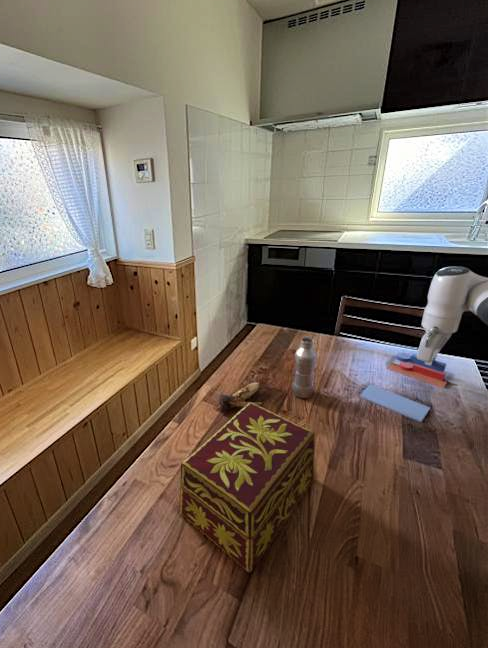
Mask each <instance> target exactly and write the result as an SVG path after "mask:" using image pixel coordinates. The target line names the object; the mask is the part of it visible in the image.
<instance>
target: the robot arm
mask: <svg viewBox="0 0 488 648" xmlns="http://www.w3.org/2000/svg"><path fill="white" fill-rule="evenodd" d="M464 312H471V313H472V314H473V315H475V316H477V317H478V318H479V319H480V320H481V321H482V322H483V323H484V324H486V326H488V277H486V276H482V275H479V274H477V273H475V272H473V271H472V270H470V269H469V268H468V267H464V266H447V267H443V268H441V269H439V270H437V272H435V274H434V276H433V277H432V280H431V283H430V285H429V288H428V292H427V303H426V305H425V307H424V311H423V315H422V319H421V324H420V325H421V327H423V329H424V331H425V333H424V334H423V336H422V337H421V340H420V343H419V346H418V349H417V353H416V355H417V359H418V360H421V361H424V362H425V364H426V365H432V363H433V360H435V361H437V356H438V354H439V353H440V351H442V348H444V346H445V345H446V343H447V342H448V341H449V339H450V338H451V337H452V334H455V333H456V332H458V331H459V326H460V323H461V320H462V317H463V316H462V315H463V314H464Z"/></svg>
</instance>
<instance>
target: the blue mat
mask: <svg viewBox="0 0 488 648" xmlns="http://www.w3.org/2000/svg"><path fill="white" fill-rule="evenodd" d="M359 398H361V399H363V400H366V401H368V402H371V403H374V404H375V405H378V406H380V407H382V408H385V409H387V410H390V411H393V412H394V413H397V414H400V415H402V416H404V417H406V418H409V419H411V420H414V421H416V422H418V423H422V422H423V420H424V419H425V418H426V416H427V415H428V413H429V411H430V410H431V407H430V406H426V405H424V404H423V403H419V402H417V401H414V400H412V399H409V398H406V397H404V396H401V395H399V394H396V393H393V392H391V391H388V390H386V389H384V388H381V387H378V386H375V385H373V384H369V385H368V386H367V387H366V388H365V389H364V390H363V391H362V392H361V393H360V395H359Z"/></svg>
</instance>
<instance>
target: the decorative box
mask: <svg viewBox="0 0 488 648" xmlns="http://www.w3.org/2000/svg"><path fill="white" fill-rule="evenodd" d="M249 402H250V403H248V404H247V405H246V406H245V407H244V408H241V409H240V410H239V411H237V412H236V413H235V414H234V415H233V416H232V417H231V418H229V420H228V421H227V422H225V423H224V424H223V425H222V426H221V427H220V428H219V429H218V430H217V431H216V432H214V433H213V434H212V435H211V436H210V437H208V438H207V439H206V440H205V441H204V442H203V443H201V444H200V446H199V447H198V448H196V449H195V450H194V451H193V452H192V453H191V454H190V455H189V456H188V457H186V458H185V459H184V460H183V461H182V462H181V464H180V485H179V514H180V515H181V516H182V517H183V516H184V517H185V518H186V519H185V518H184V517H183V518H184V519H185V520H186V521H188V522H189V523H190V524H191V523H192V524H193V525H192V524H191V525H192V526H194V527H195V528H196V529H197V530H198V529H199V530H200V531H199V530H198V531H199V532H200V533H202V534H203V535H204V536H205V535H206V536H207V537H206V536H205V537H206V538H207V539H209V541H211V542H212V541H213V542H214V543H215V544H214V543H213V542H212V543H213V544H214V545H215V546H217V548H219V549H220V548H221V549H222V550H221V549H220V550H221V551H222V552H224V553H225V554H226V555H227V554H228V555H229V556H228V555H227V556H228V557H230V559H232V561H234V560H235V561H236V562H235V561H234V562H235V563H236V564H237V565H239V566H240V567H241V566H242V567H243V568H242V567H241V568H242V569H243V570H245V571H246V572H247V573H249V574H251V572H252V571H253V570H254V569H255V567H256V566H257V564H258V563H259V562H260V560H261V558H262V557H263V556H264V554H265V553H266V551H267V550H268V548H269V546H270V545H271V543H272V542H273V541H274V540H275V538H276V536H277V535H278V533H279V532H280V531H281V529H282V527H283V525H284V524H285V523H286V521H287V520H288V518H289V517H290V516H291V514H292V512H293V511H294V509H296V507H297V505H298V504H297V503H299V502H300V501H301V499H302V498H303V497H304V495H305V494H306V492H307V490H308V489H309V488H310V486H311V484H313V481H314V480H315V463H316V462H315V460H316V459H315V458H316V457H315V452H316V451H315V450H316V448H315V447H316V445H315V441H316V440H315V439H316V437H315V435H316V434H315V432H314V431H313V430H311V429H309V428H306V427H304V426H302V425H300V424H298V423H296V422H294V421H292V420H290V419H287V418H286V417H284V416H282V415H279V414H277V413H275V412H273V411H271V410H268V409H266V408H264V407H262V406H261V405H260V406H258V405H256V404H254V403H255V402H254V403H251V402H252V401H249ZM272 540H273V541H272ZM255 565H256V566H255Z"/></svg>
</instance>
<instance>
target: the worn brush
mask: <svg viewBox="0 0 488 648" xmlns="http://www.w3.org/2000/svg"><path fill="white" fill-rule="evenodd" d="M260 389H261V384H260V383H259V382H258V381H256V382H255V381H254V382H251V383H249V384H246V385H245V386H243V387H242V388H240V389H239V390H238V391H236V392H234V393H233V394H231V395H230V396H229V395H227V394H219V395H218V398H219V399H218V402H219V405H218V406H217V411H218V412H220V413H225V412H226V413H228V412H230V411H231V410H232V409H233V408H236V407H237V408H241V409H243V408H244V407H245V406H246V405H247V404H248V403H250V402H251V403H254V404H256V405H258V406H260V407H261V406H262V405H263V404H262V403H263V401H261V402H254V401H253V402H252V401H249V402H248V401H247V400H248V399H249V398H250V397H252V396H253V395H254V394H255V393H256V392H258V390H260ZM227 411H228V412H227Z"/></svg>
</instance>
